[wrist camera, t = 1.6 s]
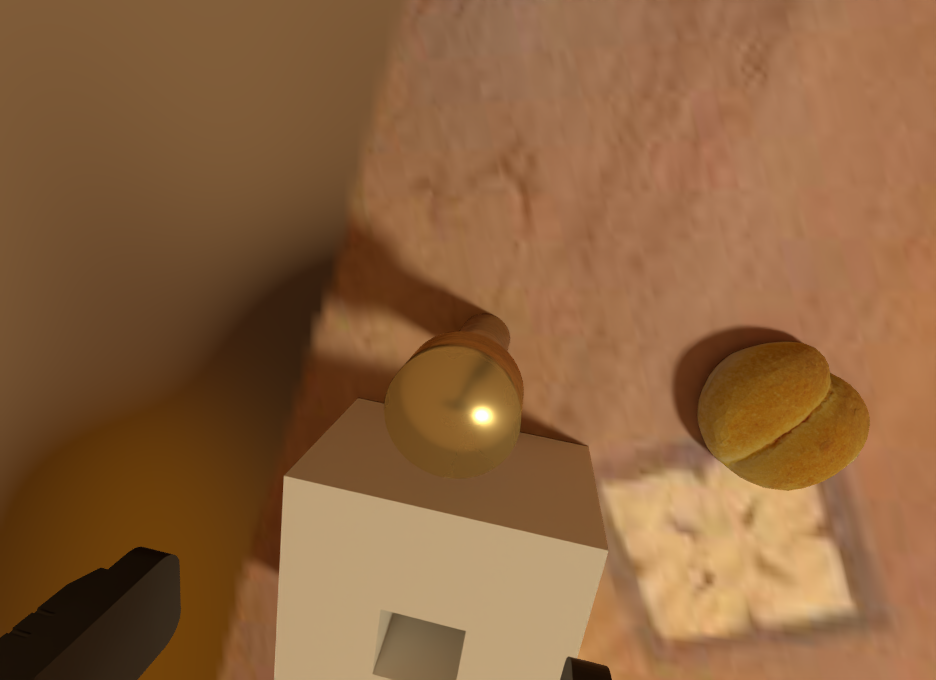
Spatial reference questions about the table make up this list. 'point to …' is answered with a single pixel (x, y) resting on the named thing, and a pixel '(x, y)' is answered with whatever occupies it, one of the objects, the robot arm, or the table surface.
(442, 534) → the pin block
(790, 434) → the bread roll
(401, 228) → the table surface
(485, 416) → the brass-head pin
